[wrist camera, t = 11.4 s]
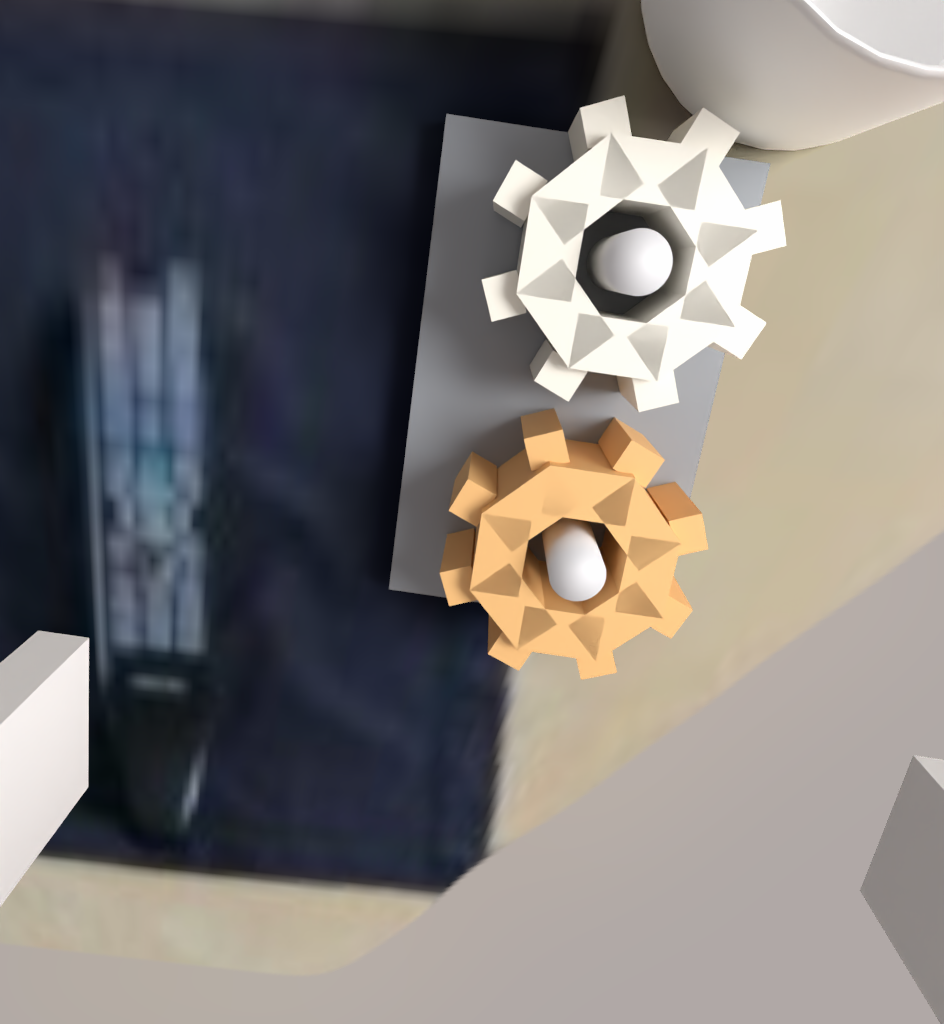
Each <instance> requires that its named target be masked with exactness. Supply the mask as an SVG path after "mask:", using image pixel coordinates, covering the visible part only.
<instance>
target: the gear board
mask: <svg viewBox="0 0 944 1024" xmlns="http://www.w3.org/2000/svg"><path fill="white" fill-rule="evenodd" d="M515 160H517V161H518V162H520V163H521V164H523V165H524V166H526V167H527V168H529V169H530V170H532V171H534V172H535V173H537V174H538V175H540V176H541V177H543V178H544V179H546V180H547V183H549V182H550V181H551V180H552V179H554V178H555V177H556V176H558V175H559V174H560V173H561V172H563V171H564V170H565V169H566V168H568V167H569V166H570V165H571V164H573V163H574V160H573V155H572V150H571V145H570V140H569V135H568V132H562V131H555V130H549V129H542V128H536V127H529V126H523V125H516V124H510V123H503V122H497V121H490V120H484V119H477V118H470V117H464V116H457V115H451V114H446V121H445V130H444V138H443V146H442V154H441V163H440V171H439V179H438V187H437V196H436V204H435V212H434V220H433V229H432V237H431V245H430V253H429V262H428V270H427V278H426V286H425V295H424V303H423V311H422V319H421V328H420V336H419V344H418V352H417V361H416V369H415V377H414V385H413V394H412V402H411V410H410V419H409V427H408V435H407V443H406V452H405V460H404V468H403V476H402V485H401V493H400V501H399V509H398V518H397V526H396V534H395V542H394V551H393V559H392V567H391V575H390V584H389V589H390V590H397V591H404V592H411V593H418V594H425V595H431V596H438V597H445V598H447V597H446V593H445V590H444V586H443V583H442V579H441V576H440V569H441V563H442V558H443V553H444V548H445V543H446V538H447V534H451V533H455V532H459V531H464V530H468V529H472V528H474V529H475V532H476V526H474V525H472V524H471V523H469V522H467V521H466V520H464V519H462V518H460V517H459V516H457V515H455V514H453V513H452V512H450V511H449V506H450V501H451V496H452V491H453V487H454V482H455V479H456V477H457V475H458V474H459V472H460V470H461V469H462V467H463V465H464V464H465V462H466V460H467V459H468V457H469V456H470V454H471V452H474V453H476V454H477V455H479V456H481V457H483V458H484V459H486V460H488V461H489V462H491V463H493V464H494V465H496V466H497V468H498V467H500V466H501V465H503V464H504V463H505V462H507V461H508V460H510V459H511V458H512V457H514V456H515V455H517V454H518V453H519V452H521V451H522V450H524V449H525V448H526V446H525V442H524V437H523V430H522V423H521V417H520V416H524V415H528V414H532V413H536V412H540V411H544V410H548V409H552V408H554V409H555V411H556V414H557V416H558V419H559V421H560V424H561V426H562V429H563V433H564V437H565V439H567V440H574V441H581V442H587V443H594V444H599V443H598V441H599V439H600V438H601V436H602V435H603V433H604V432H605V430H606V429H607V427H608V426H609V424H610V423H611V421H612V420H613V418H614V417H615V418H617V419H618V420H620V421H621V422H623V423H625V424H626V425H628V426H630V427H631V428H633V429H635V430H636V431H638V432H639V433H641V434H643V435H644V436H645V438H646V439H647V440H648V441H649V442H650V443H651V445H652V446H653V447H654V448H655V449H656V450H657V451H658V453H659V454H660V455H661V456H662V457H663V458H664V460H665V461H664V462H663V464H662V465H661V466H660V468H659V469H658V471H657V472H656V474H655V475H654V477H653V478H652V479H651V481H650V482H649V484H648V485H647V487H646V488H645V487H644V489H645V490H646V492H647V488H650V487H654V486H659V485H663V484H667V483H672V482H676V483H677V484H678V485H679V486H680V488H681V489H682V490H683V491H684V492H685V494H686V495H687V496H688V497H689V498H690V497H691V492H692V488H693V484H694V480H695V476H696V471H697V467H698V463H699V459H700V455H701V451H702V446H703V442H704V438H705V434H706V430H707V426H708V421H709V417H710V413H711V409H712V405H713V401H714V396H715V392H716V388H717V384H718V380H719V376H720V371H721V367H722V363H723V359H724V355H725V353H723V352H720V351H718V350H715V349H712V348H710V347H705V348H704V349H702V350H701V351H700V352H698V353H697V354H695V355H694V356H692V357H691V358H690V359H688V360H687V361H685V362H684V363H683V364H681V365H680V366H678V367H677V368H675V369H674V370H673V371H674V377H675V382H676V388H677V394H678V399H679V403H675V404H671V405H667V406H663V407H659V408H654V409H650V410H646V411H642V412H638V411H637V410H636V409H635V408H634V407H633V406H632V405H631V404H630V403H629V402H628V401H627V400H626V399H625V398H624V397H623V396H622V395H621V393H620V391H619V386H618V381H617V376H616V375H611V374H604V373H597V372H591V371H587V374H586V375H585V377H584V378H583V380H582V381H581V383H580V385H579V386H578V388H577V389H576V391H575V392H574V394H573V396H572V397H571V399H570V400H569V402H568V401H566V400H565V399H563V398H562V397H560V396H558V395H557V394H555V393H553V392H552V391H550V390H548V389H547V388H545V387H543V386H542V385H540V384H539V383H537V382H535V381H534V379H533V376H532V372H531V369H530V366H529V365H530V364H531V362H532V360H533V359H534V357H535V355H536V354H537V352H538V351H539V349H540V347H541V346H542V344H543V342H544V341H545V339H546V340H548V341H549V339H548V338H547V337H546V335H545V334H544V332H543V331H542V329H541V328H540V327H539V325H538V324H537V322H536V321H535V320H534V318H533V317H532V315H531V314H530V312H529V311H528V310H527V308H526V307H525V308H526V313H524V314H520V315H516V316H512V317H508V318H505V319H501V320H497V321H493V322H492V321H491V317H490V313H489V309H488V304H487V300H486V296H485V292H484V288H483V284H482V279H483V278H486V277H490V276H494V275H498V274H501V273H505V272H509V271H513V270H517V264H518V258H519V251H520V245H521V238H522V232H523V226H524V223H523V225H522V227H521V228H520V227H519V226H517V225H516V224H514V223H513V222H511V221H509V220H508V219H506V218H505V217H503V216H502V215H500V214H498V213H497V212H495V211H494V209H493V199H494V198H495V196H496V194H497V192H498V191H499V189H500V187H501V185H502V183H503V182H504V180H505V178H506V176H507V174H508V173H509V171H510V169H511V167H512V166H513V164H514V162H515ZM719 167H720V169H721V171H722V172H723V174H724V176H725V177H726V179H727V181H728V182H729V184H730V186H731V187H732V189H733V191H734V192H735V194H736V195H737V197H738V199H739V200H740V202H741V204H742V205H743V207H744V209H747V208H751V207H755V206H760V205H761V200H762V196H763V192H764V188H765V184H766V179H767V175H768V171H769V167H770V163H763V162H757V161H750V160H744V159H737V158H731V157H724V159H723V160H722V162H721V163H720V165H719ZM547 183H546V184H547ZM672 264H673V256H672V251H671V248H670V245H669V244H668V242H667V240H666V239H665V238H664V237H663V236H662V235H661V234H659V233H658V232H656V231H654V230H651V229H650V228H649V226H648V225H647V223H646V222H645V220H644V218H643V217H642V216H635V215H629V214H622V213H615V212H609V211H608V212H606V213H605V214H604V215H602V216H601V217H600V218H598V219H597V220H596V221H595V222H593V223H592V224H591V225H589V226H588V227H587V228H585V229H584V232H583V238H582V243H581V249H580V255H579V260H578V266H577V271H576V277H575V279H576V280H577V282H578V283H579V285H580V286H581V288H582V289H583V290H584V292H585V293H586V295H587V296H588V298H589V299H590V301H591V302H592V304H593V305H594V307H595V308H596V310H597V311H602V312H609V313H615V314H622V315H623V314H625V313H626V312H627V311H629V310H630V309H631V308H633V307H634V306H635V305H637V304H638V303H640V302H641V301H642V300H644V299H645V298H646V297H648V296H649V295H650V294H652V293H653V292H655V291H656V290H658V289H659V288H660V287H661V286H662V285H663V284H664V283H665V282H666V280H667V279H668V277H669V275H670V272H671V269H672ZM647 493H648V492H647ZM605 528H606V525H605V524H604V523H598V522H591V521H585V520H578V519H571V518H564V517H562V518H561V519H559V520H558V521H556V522H555V523H553V524H552V525H550V526H549V527H547V528H546V529H545V530H543V531H542V532H540V533H539V534H537V535H536V536H534V537H533V538H531V539H530V540H528V545H527V546H528V547H529V549H530V550H531V551H532V553H533V554H534V555H535V556H536V558H537V559H538V560H539V561H546V563H547V569H548V575H549V581H550V584H551V586H552V588H553V590H554V591H555V592H556V593H557V594H558V595H559V596H561V597H562V598H564V599H567V600H570V601H584V600H587V599H590V598H592V597H593V596H595V595H596V594H597V593H598V592H599V591H600V590H601V589H602V587H603V586H604V583H605V580H606V568H605V565H604V562H603V559H602V556H601V553H600V551H599V548H600V547H601V546H602V542H603V537H604V533H605ZM472 602H479V601H478V600H475V601H472ZM479 603H480V602H479ZM650 628H652V627H650Z"/></svg>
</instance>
